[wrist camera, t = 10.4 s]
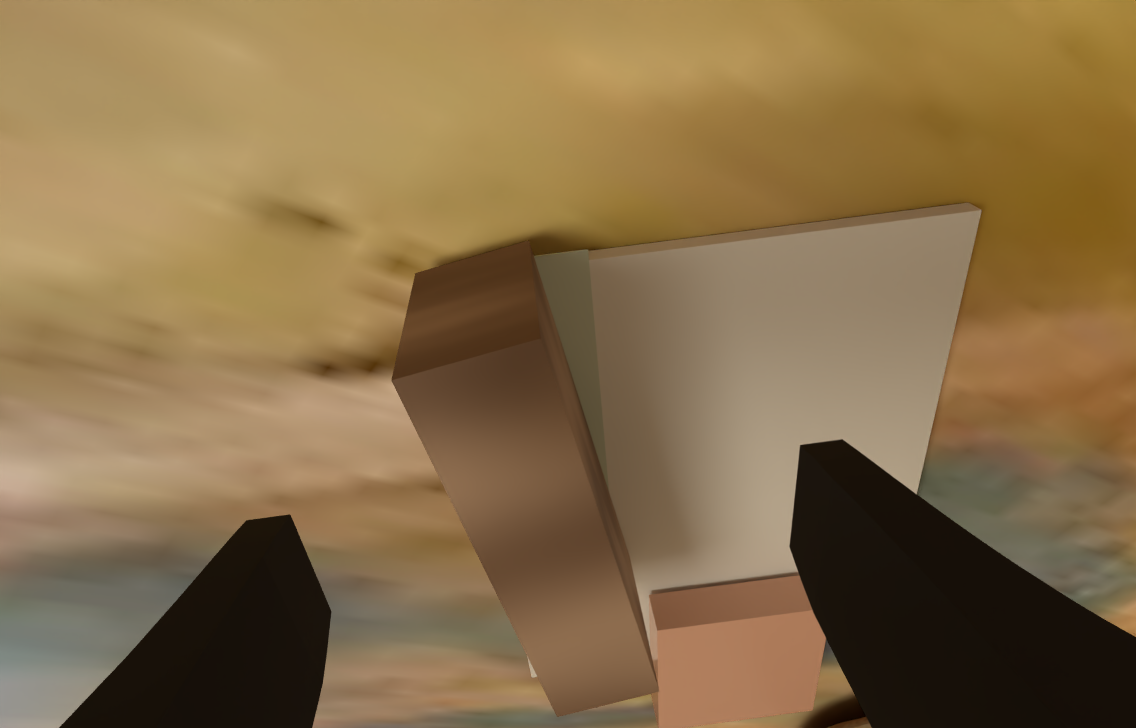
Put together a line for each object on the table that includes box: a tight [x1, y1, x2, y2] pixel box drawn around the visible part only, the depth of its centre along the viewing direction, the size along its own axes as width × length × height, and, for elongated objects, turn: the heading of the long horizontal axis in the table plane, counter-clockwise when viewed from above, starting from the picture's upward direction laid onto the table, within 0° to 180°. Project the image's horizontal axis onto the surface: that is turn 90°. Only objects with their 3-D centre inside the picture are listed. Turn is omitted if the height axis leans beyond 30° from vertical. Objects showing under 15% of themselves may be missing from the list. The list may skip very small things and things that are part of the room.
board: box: [528, 203, 982, 677], centre depth 23 cm, size 14×17×1 cm
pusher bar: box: [392, 240, 660, 717], centre depth 19 cm, size 12×3×5 cm, turn 15°
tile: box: [649, 575, 826, 728], centre depth 26 cm, size 6×2×6 cm
